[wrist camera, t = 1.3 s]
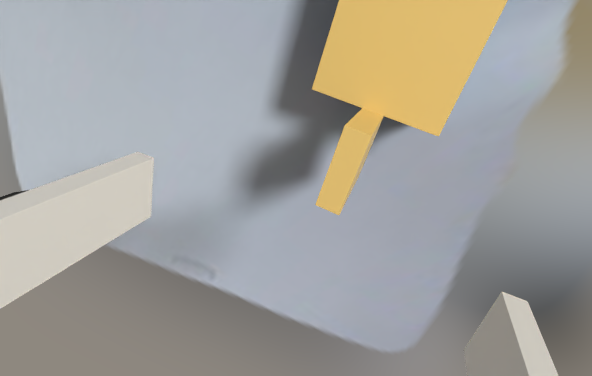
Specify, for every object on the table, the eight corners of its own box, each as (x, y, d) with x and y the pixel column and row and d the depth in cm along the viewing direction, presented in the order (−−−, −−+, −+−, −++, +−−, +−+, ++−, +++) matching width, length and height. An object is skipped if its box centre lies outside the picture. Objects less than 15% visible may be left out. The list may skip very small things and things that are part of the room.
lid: (294, 151, 32) (258, 180, 25) (395, -172, 22) (381, -276, 15) (406, 197, 30) (401, 242, 23) (573, -133, 20) (654, -233, 13)
